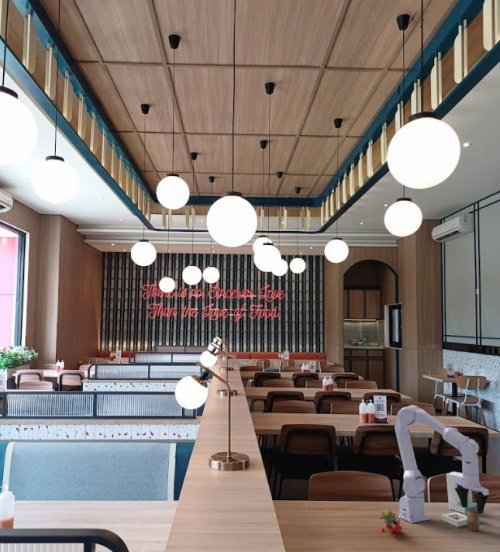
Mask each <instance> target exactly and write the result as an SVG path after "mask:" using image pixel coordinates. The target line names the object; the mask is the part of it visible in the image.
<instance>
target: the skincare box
mask: <svg viewBox="0 0 500 552" xmlns="http://www.w3.org/2000/svg"><path fill="white" fill-rule="evenodd" d="M445 475H446V489H447V490H446V491H447V497H448V510H451V509H452V510H451V511H454V510H455V511H454V512H457V513H461V512H462V513H461V514H465V507H464V508H463V507H462V506H461V505H458V502H460V499H459V496H458V494H457V492H456V491H455V488H457V486H455V480H460V481H463V472H458V471H451V472H447V473H446V474H445ZM468 502H470V503H473V504H474V502H473V492H472V490H469V492H468Z"/></svg>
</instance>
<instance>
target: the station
mask: <svg viewBox="0 0 500 552" xmlns="http://www.w3.org/2000/svg"><path fill="white" fill-rule="evenodd" d="M458 505H461V502H458ZM461 506H462V505H461ZM467 509H475V510H477V504H476V503H474V502H473V503H470V502H468V505H467V507H465V513H464V514H463V513H461V512H458V511H455V512H451V513H445V514H441V519H440V522H442V523H445V524H447V525H449V526H452V527H454V528H456V529H459V528H465V527H467ZM478 521H479V524H484V521H483V520H480V514H479V513H478Z"/></svg>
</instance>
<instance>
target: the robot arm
mask: <svg viewBox="0 0 500 552" xmlns="http://www.w3.org/2000/svg"><path fill="white" fill-rule="evenodd" d="M414 423H416V424H425V425H427V426H428V427H429V428H431V429H433V430H434V431H436V432H437V433H439V434H440V435H442V439H443V440H444V441H445V442H446V443H448V444H450V445H451V446H453V447H454V448H455V449H457V450H458V451H459V453H460V454H461V464H462V465H461V466H462V467H461V469H462V473H463V481H460V480H455V486H457V488H455V491H456V492H457V494H458V496H459V499H460V502H461V505H462V507H463V508H464V507H467V505H468V492H469V490H472V491H473V492H475V493H473V496H474V498H475V502H476V503H475V504H476V505H477V512H478V513H479V515H480V514H484V509H485V506H486V503H487V501H488V498H489V496H490V493H489V489H488V488H486V487H484V486H482V485H481V483H480V476H479V475H480V472H479V458H478V454H477V453H478V452H479V450H480V446H479V444H478V442H476V441H475V439H473V438H470V437H469V436H465V435H463V434H462V433H461V432H460V431H458V430H459V429H458V428H457V427H451V426H450V427H447V426H445V425H444V424H443V423H441V422H440V421H438V420H437V419H436V417H435V418H434V417H433V415H430V413H428V412H427V411H425V410H424V408H420V407H419V406H418V405H416V404H410V405H408V406H405V407H404V406H403V407H402V408H400V410H398V412H397V416H396V420H395V423H394V430H395V435H396V440H397V443H398V444H397V445H398V449H399V452H400V453H399V454H400V457H401V462H402V467H403V476H402V477H403V486H402V489H403V492H404V493H405V495H403V496H401V497H400V498H399V501H398V502H399V504H398V505H399V515H398V518H399V519H400V518H401V519H402V520H404V521H407V522H409V523H413V524H414V523H418V522H419V523H420V522H424V521H430V517H428V516H426V512H425V494H424V491H425V489H426V485H427V484H426V481H425V479H424V478H423V476H422V474H421V471H420V470H419V469H418V465H417V462H416V460H417V459H416V457H415V453H414V449H413V444H412V440H411V439H412V438H411V435H410V431H409V429H410V428H411V427H412V425H413V424H414Z"/></svg>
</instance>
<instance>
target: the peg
mask: <svg viewBox="0 0 500 552" xmlns="http://www.w3.org/2000/svg"><path fill="white" fill-rule="evenodd" d="M466 528H467V531H469V532H472V533H473V532H474V533H478V532H480V525H479V521H478V512H477V510H475V509H467V526H466Z"/></svg>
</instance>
